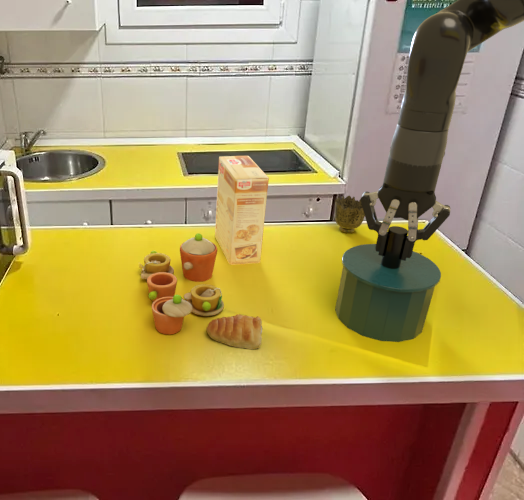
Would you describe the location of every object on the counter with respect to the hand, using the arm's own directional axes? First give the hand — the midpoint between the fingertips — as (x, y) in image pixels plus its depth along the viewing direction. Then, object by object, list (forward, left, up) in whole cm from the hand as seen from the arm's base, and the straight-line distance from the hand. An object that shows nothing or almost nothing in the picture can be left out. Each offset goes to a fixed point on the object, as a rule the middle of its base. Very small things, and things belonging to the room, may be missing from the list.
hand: (392, 255), depth 87 cm
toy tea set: (+34, +10, -13) cm, 38 cm away
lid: (0, 0, -2) cm, 2 cm away
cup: (+12, -34, -13) cm, 38 cm away
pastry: (+20, +17, -13) cm, 29 cm away
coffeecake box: (+32, -13, -13) cm, 37 cm away
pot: (0, 0, -13) cm, 13 cm away
